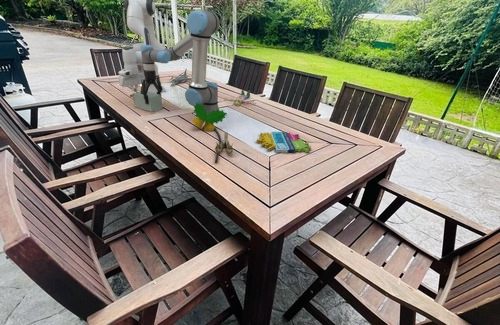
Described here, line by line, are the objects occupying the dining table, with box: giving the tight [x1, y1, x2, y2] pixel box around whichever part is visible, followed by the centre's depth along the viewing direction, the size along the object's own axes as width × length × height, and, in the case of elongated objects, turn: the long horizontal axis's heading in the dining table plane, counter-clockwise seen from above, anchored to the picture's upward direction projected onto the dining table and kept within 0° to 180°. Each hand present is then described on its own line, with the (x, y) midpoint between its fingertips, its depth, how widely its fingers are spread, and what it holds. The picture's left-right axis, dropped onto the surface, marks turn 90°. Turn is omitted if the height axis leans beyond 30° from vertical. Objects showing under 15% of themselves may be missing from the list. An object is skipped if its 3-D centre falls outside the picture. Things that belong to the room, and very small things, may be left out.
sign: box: [256, 131, 312, 154], centre depth 152 cm, size 26×2×30 cm
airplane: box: [168, 68, 192, 87], centre depth 266 cm, size 38×31×10 cm
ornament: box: [191, 102, 228, 132], centre depth 162 cm, size 21×8×15 cm, turn 105°
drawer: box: [129, 93, 135, 106], centre depth 192 cm, size 22×9×8 cm, turn 58°
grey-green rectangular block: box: [132, 91, 164, 113], centre depth 189 cm, size 17×10×10 cm, turn 58°
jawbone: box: [214, 131, 234, 156], centre depth 136 cm, size 9×15×10 cm
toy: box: [223, 89, 257, 106], centre depth 219 cm, size 28×7×30 cm
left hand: (134, 91), depth 192 cm, fingers closed
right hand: (153, 102), depth 187 cm, fingers closed on grey-green rectangular block, 10 cm apart
